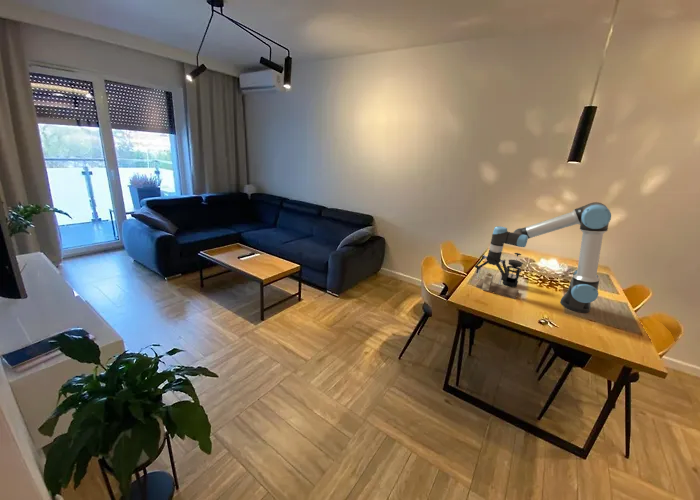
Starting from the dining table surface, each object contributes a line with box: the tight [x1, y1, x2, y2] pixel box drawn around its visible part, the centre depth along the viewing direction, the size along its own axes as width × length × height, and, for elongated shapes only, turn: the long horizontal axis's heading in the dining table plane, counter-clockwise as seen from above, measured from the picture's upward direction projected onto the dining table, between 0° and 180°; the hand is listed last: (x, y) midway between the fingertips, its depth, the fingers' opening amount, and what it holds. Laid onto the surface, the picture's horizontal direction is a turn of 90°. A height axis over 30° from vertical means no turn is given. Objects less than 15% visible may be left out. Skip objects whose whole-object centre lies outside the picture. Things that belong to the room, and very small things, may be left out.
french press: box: [501, 252, 524, 288], centre depth 208 cm, size 12×9×23 cm
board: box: [475, 278, 520, 300], centre depth 202 cm, size 24×12×2 cm, turn 55°
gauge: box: [481, 272, 495, 292], centre depth 200 cm, size 4×8×10 cm, turn 145°
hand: (488, 281), depth 200 cm, fingers open, 13 cm apart
